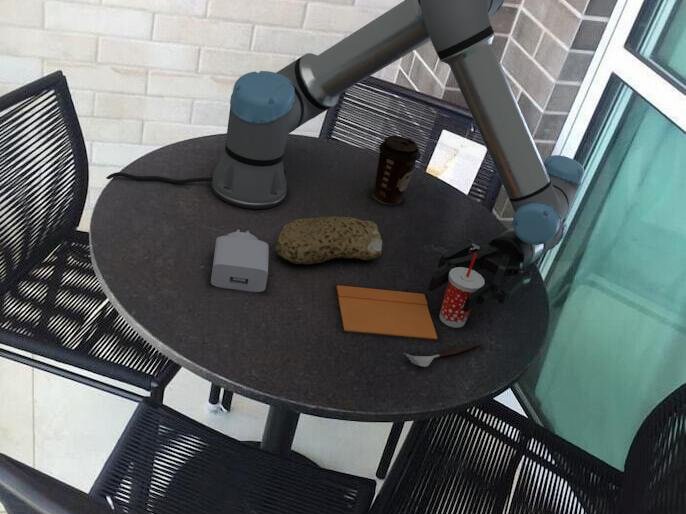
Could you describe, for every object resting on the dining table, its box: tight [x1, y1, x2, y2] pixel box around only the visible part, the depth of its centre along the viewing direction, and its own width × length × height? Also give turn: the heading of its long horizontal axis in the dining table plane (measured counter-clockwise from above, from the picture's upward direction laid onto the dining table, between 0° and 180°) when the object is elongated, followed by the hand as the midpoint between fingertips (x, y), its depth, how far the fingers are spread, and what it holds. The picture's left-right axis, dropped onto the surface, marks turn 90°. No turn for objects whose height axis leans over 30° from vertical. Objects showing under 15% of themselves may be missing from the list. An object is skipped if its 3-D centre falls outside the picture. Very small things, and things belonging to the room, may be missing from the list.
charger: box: [210, 228, 270, 293], centre depth 142 cm, size 5×9×15 cm
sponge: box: [275, 215, 383, 265], centre depth 149 cm, size 13×8×20 cm
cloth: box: [336, 284, 438, 340], centre depth 139 cm, size 16×12×1 cm
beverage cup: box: [439, 252, 486, 329], centre depth 137 cm, size 6×6×14 cm
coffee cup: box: [371, 135, 422, 206], centre depth 170 cm, size 9×8×13 cm
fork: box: [402, 343, 482, 368], centre depth 132 cm, size 3×16×2 cm, turn 120°
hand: (449, 294), depth 133 cm, fingers closed on beverage cup, 6 cm apart
